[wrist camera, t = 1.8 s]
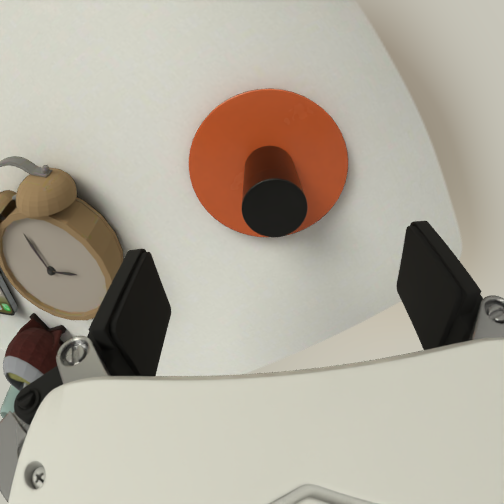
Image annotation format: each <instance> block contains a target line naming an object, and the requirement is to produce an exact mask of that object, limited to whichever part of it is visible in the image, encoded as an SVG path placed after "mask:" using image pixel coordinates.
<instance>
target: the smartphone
mask: <svg viewBox="0 0 504 504" xmlns="http://www.w3.org/2000/svg"><path fill="white" fill-rule="evenodd" d="M17 309H18V308H17V305H16V303H15V301H14V299H13V298H12V296H11V294H10V292H9V290H8V288H7V286H6V284H5V282H4V280H3V278H2V276H1V274H0V314H6V315H14V314H15V312H16V311H17Z"/></svg>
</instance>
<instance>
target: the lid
mask: <svg viewBox="0 0 504 504" xmlns="http://www.w3.org/2000/svg"><path fill="white" fill-rule="evenodd" d="M347 172H348V154H347V149H346V144H345V141H344V139H343V136H342V133H341V132H340V130H339V128H338V126H337V124H336V123H335V122H334V120H333V119H332V118H331V116H330V115H329V114H328V113H327V112H326V111H325V110H324V109H322V108H321V107H320V106H318V105H317V104H316V103H314V102H313V101H311V100H310V99H308V98H306V97H304V96H302V95H299V94H297V93H294V92H290V91H286V90H281V89H257V90H251V91H247V92H244V93H241V94H238V95H236V96H234V97H231V98H229V99H228V100H226V101H224V102H223V103H221V104H220V105H219V106H217V107H216V108H215V109H214V110H213V111H212V112H211V113H210V114H209V115H208V116H207V117H206V118H205V120H204V121H203V122H202V124H201V125H200V127H199V129H198V130H197V132H196V134H195V137H194V139H193V142H192V145H191V149H190V155H189V173H190V179H191V182H192V186H193V189H194V191H195V193H196V195H197V197H198V199H199V201H200V202H201V204H202V205H203V206H204V208H205V209H206V210H207V211H208V212H209V213H210V214H211V215H212V216H213V217H214V218H215V219H216V220H218V221H219V222H220V223H222V224H223V225H225V226H227V227H229V228H230V229H233V230H235V231H237V232H240V233H243V234H247V235H251V236H257V237H281V236H285V235H289V234H293V233H296V232H298V231H301V230H304V229H305V228H307V227H309V226H311V225H313V224H314V223H316V222H317V221H318V220H320V219H321V218H322V217H323V216H324V215H326V214H327V213H328V211H329V210H330V209H331V208H332V207H333V206H334V204H335V203H336V201H337V200H338V198H339V196H340V194H341V192H342V190H343V187H344V184H345V182H346V177H347Z"/></svg>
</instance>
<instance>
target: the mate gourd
mask: <svg viewBox="0 0 504 504" xmlns="http://www.w3.org/2000/svg"><path fill="white" fill-rule="evenodd" d="M30 318H31V320H30V321H29V322H28V323H27V324H25V325H24V326H23V327H22V328H21V329H20V330H19V332H18V333H17V335H16V336H15V337H14V338H13V339H12V341H11V342H10V344H9V345H8V348H7V350H6V354H5V357H4V361H3V370H4V375H5V377H6V379H7V380H8V381H9V382H10V384H11V385H12V386H14V387H15V388H16V389H17V390H19V391H21V390H22V389H23V388H24V387H26V386H27V385H29V384H30V383H32V382H33V381H35V380H36V379H38V378H39V377H41V376H42V375H44V374H45V373H47V372H48V371H50V370H51V369H53V368H54V367H56V366H57V362H56V356H57V352H58V350H59V348H60V347H61V346H62V345H63V344H64V343H63V342H62V341H61V340H60V337H61V334H62V333H64V332H65V331H66V328H65V327H64V326H62V325H60V326H57V327H54V328H51V329H50V328H48V327H47V326H46V325H45V324H44V323H43V322H42V321H41V320H40V319H39V318H38V317H37V316H36V315H35V314H34V313H33V314H32V315H31V316H30Z"/></svg>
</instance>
